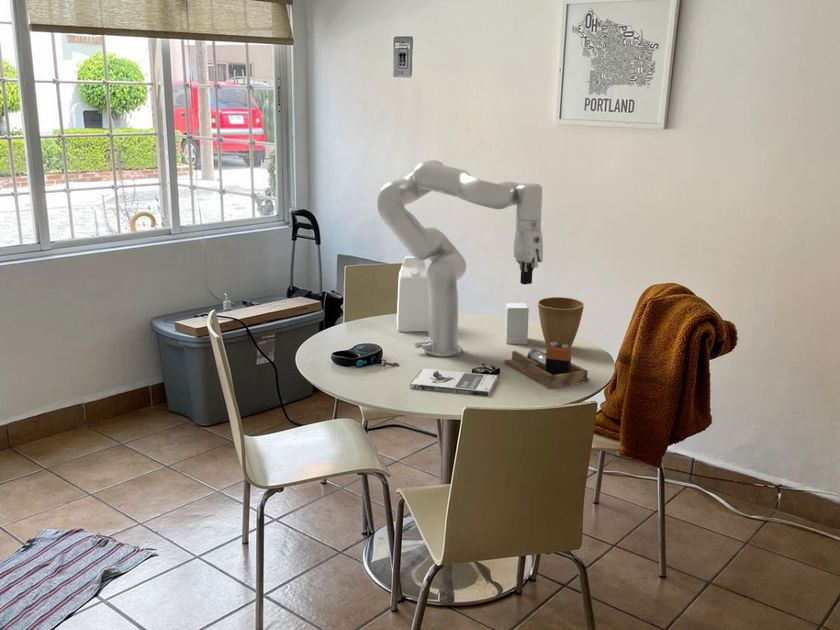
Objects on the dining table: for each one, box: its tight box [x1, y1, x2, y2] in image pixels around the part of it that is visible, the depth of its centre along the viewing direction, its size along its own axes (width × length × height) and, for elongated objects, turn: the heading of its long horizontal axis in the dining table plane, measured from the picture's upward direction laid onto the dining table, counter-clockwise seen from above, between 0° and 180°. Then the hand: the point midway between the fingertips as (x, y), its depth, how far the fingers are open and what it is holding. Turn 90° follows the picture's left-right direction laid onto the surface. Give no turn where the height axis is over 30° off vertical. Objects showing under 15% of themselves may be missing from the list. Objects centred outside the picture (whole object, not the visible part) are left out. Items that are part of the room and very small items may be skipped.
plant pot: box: [537, 296, 585, 347], centre depth 258 cm, size 15×15×16 cm
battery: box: [545, 342, 573, 375], centre depth 231 cm, size 4×7×10 cm, turn 69°
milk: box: [396, 256, 429, 332], centre depth 282 cm, size 12×12×26 cm
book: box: [409, 368, 498, 397], centre depth 228 cm, size 23×14×2 cm, turn 74°
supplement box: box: [503, 302, 529, 345], centre depth 268 cm, size 7×7×13 cm
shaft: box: [526, 349, 546, 369], centre depth 239 cm, size 4×10×4 cm, turn 25°
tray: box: [503, 347, 590, 390], centre depth 238 cm, size 14×25×4 cm, turn 25°
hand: (526, 283), depth 243 cm, fingers closed
